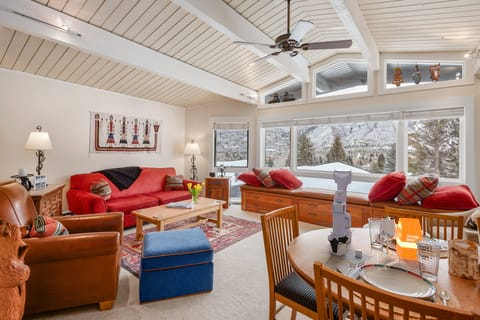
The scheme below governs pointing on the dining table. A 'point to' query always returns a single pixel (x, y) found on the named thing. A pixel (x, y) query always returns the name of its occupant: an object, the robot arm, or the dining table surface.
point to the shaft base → (353, 256)
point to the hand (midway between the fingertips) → (338, 251)
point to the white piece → (340, 249)
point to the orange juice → (408, 238)
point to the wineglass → (388, 230)
